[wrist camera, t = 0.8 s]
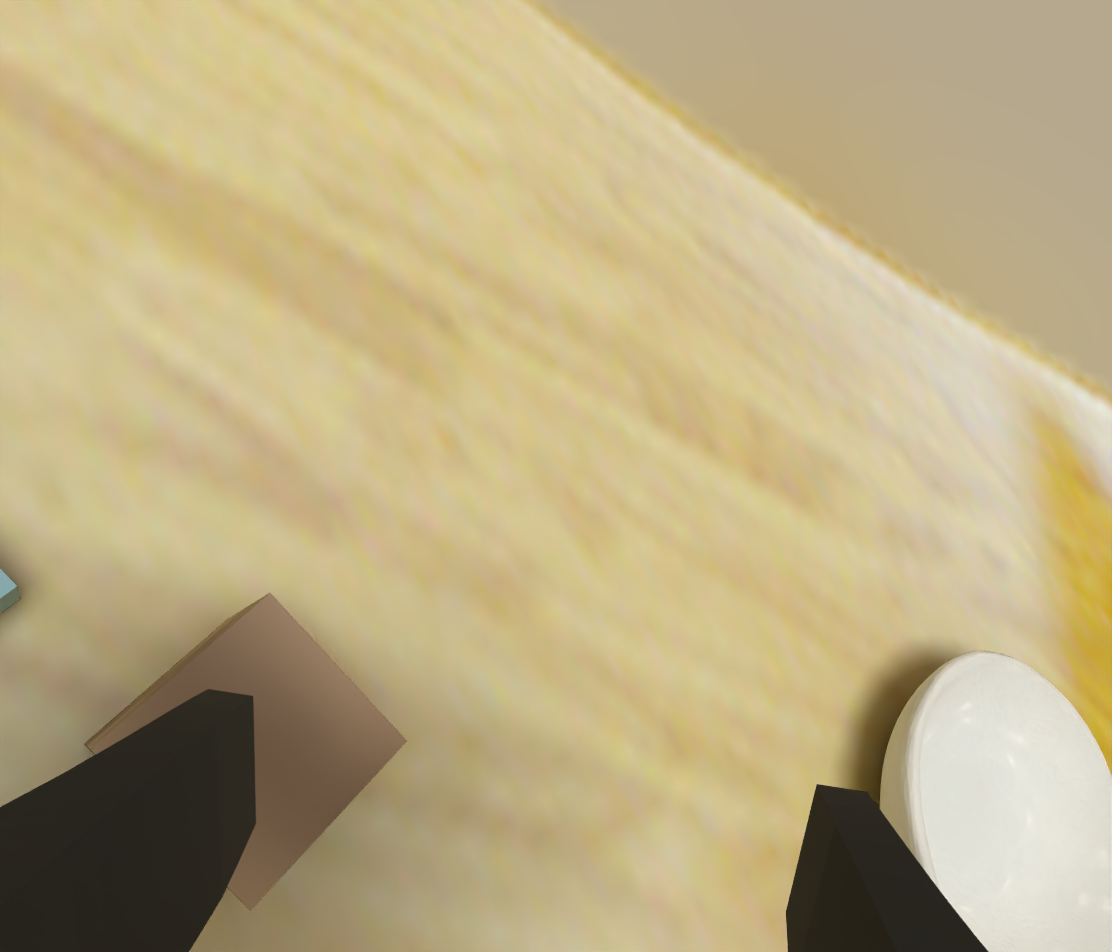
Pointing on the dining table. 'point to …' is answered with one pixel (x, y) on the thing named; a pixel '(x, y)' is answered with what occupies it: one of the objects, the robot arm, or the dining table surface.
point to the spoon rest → (1005, 805)
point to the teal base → (7, 592)
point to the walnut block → (277, 732)
